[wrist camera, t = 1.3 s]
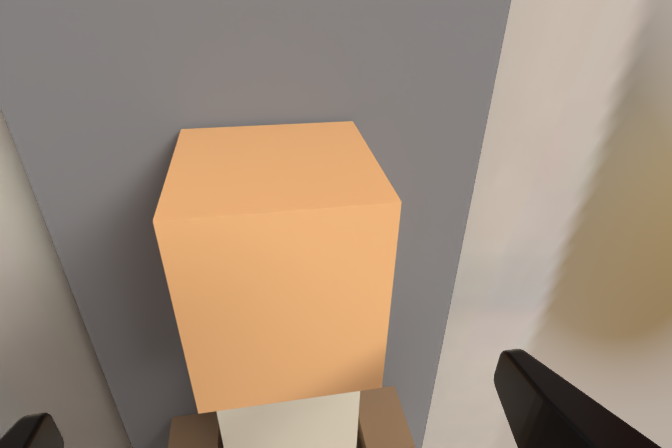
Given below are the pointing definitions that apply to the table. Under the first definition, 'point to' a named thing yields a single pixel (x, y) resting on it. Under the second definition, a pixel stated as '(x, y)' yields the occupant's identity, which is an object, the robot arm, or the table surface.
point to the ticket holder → (246, 110)
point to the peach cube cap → (278, 261)
